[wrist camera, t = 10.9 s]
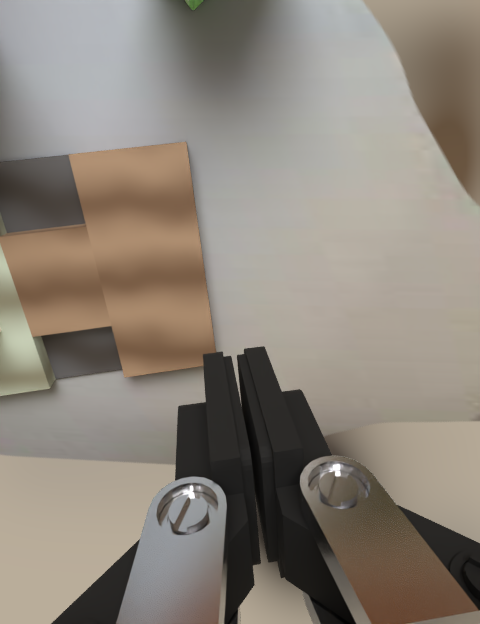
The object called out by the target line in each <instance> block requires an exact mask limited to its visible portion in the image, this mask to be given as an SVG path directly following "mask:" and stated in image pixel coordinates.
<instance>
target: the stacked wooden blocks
mask: <svg viewBox="0 0 480 624" xmlns="http://www.w3.org/2000/svg"><path fill="white" fill-rule="evenodd" d="M0 328H1V330H2V331H1V332H0V396H3V395H10V394H17V393H24V392H30V391H37V390H44V389H50V388H51V386H52V384H53V383H54V381H55V379H59V378H65V377H72V376H79V375H86V374H93V373H100V372H106V371H113V370H120V369H123V373H124V377H131V376H138V375H145V374H152V373H158V372H165V371H172V370H179V369H185V368H192V367H199V366H203V354H208V353H216V349H215V342H214V335H213V328H212V321H211V313H210V306H209V299H208V292H207V285H206V278H205V271H204V264H203V257H202V250H201V243H200V235H199V228H198V221H197V214H196V207H195V200H194V193H193V186H192V179H191V172H190V165H189V157H188V150H187V143H186V142H180V143H171V144H162V145H152V146H143V147H134V148H124V149H115V150H106V151H97V152H87V153H78V154H69V155H62V156H53V157H44V158H34V159H25V160H16V161H6V162H0Z"/></svg>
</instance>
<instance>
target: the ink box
mask: <svg viewBox="0 0 480 624" xmlns="http://www.w3.org/2000/svg"><path fill="white" fill-rule="evenodd" d="M203 1H204V0H185V2H186V3H187V4H188V6H189V7H190V8H191V9H192V10H195V9H196V8H197V7H198V6H199V5H200V4H201V3H202V2H203Z"/></svg>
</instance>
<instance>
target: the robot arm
mask: <svg viewBox="0 0 480 624" xmlns="http://www.w3.org/2000/svg"><path fill="white" fill-rule="evenodd" d="M237 361H238V372H239V383H240V393H241V402H240V397H239V392H238V387H237V382H236V378H235V373H234V368H233V363H232V358H231V356H226V357H223V352H216V353H208V354H203V366H204V381H205V395H206V402H204V403H197V404H190V405H182V406H179V407H178V424H177V449H176V475H175V481H174V482H171V483H170V484H168V485H167V486H165V487H164V488H163V489H161V491H159V492H158V494H157V495H156V496H155V497H154V498H153V500H152V503H151V505H150V507H149V510H148V513H147V517H146V520H145V524H144V527H143V531H142V534H141V538H140V539H139V540H138V541H137V542H136V543H135V544H134V545H133V546H132V547H131V548H130V549H129V550H128V551H127V552H126V553H125V554H124V555H123V556H122V557H121V558H120V559H119V560H117V561H116V562H115V563H114V564H113V565H112V566H111V567H110V568H109V569H108V570H107V571H106V572H105V573H104V574H103V575H102V576H101V577H100V578H99V579H98V580H97V581H95V582H94V583H93V584H92V585H91V587H89V588H88V589H87V590H86V591H85V592H84V593H83V594H82V595H81V596H80V597H79V598H78V599H77V600H76V601H74V602H73V603H72V605H70V606H69V607H68V608H67V609H66V610H65V611H64V612H63V613H62V614H61V615H60V616H59V617H58V618H57V619H56V620H55V621H54V622H53V623H52V624H240V621H241V620H240V619H241V616H240V607H239V606H240V604H241V603H242V602H243V600H244V599H245V598H246V596H247V595H248V593H249V592H250V590H251V589H252V588H253V586H254V575H253V565H257V564H260V563H261V560H260V549H259V538H258V526H257V514H256V502H257V507H258V512H259V517H260V522H261V528H262V533H263V538H264V543H265V548H266V554H267V559H268V562H274V561H277V562H278V567H279V571H280V576H281V578H283V577H285V578H286V580H287V581H289V582H291V583H292V584H293V585H295V586H296V587H298V588H299V589H301V590H302V591H303V597H304V601H305V604H306V607H307V610H308V612H309V615H310V617H311V619H312V622H313V624H480V543H478V542H476V541H474V540H471V539H469V538H467V537H465V536H463V535H461V534H459V533H456V532H454V531H452V530H450V529H448V528H446V527H444V526H441V525H439V524H437V523H435V522H433V521H431V520H429V519H426V518H424V517H422V516H420V515H418V514H416V513H414V512H411V511H409V510H407V509H405V508H403V507H401V506H398V505H396V503H395V502H394V501H393V499H392V498H391V497H390V495H389V494H388V493H387V492H386V491H385V489H384V488H383V486H382V485H381V484H380V483H379V481H378V480H377V479H376V477H375V476H374V475H373V474H372V473H371V472H370V471H369V470H368V469H367V468H366V467H365V466H364V465H362V464H361V463H359V462H357V461H355V460H353V459H349V458H346V457H342V456H332V454H331V452H330V450H329V448H328V446H327V443H326V441H325V439H324V437H323V435H322V433H321V431H320V428H319V426H318V424H317V422H316V420H315V418H314V415H313V413H312V411H311V409H310V407H309V405H308V403H307V400H306V398H305V396H304V394H303V392H302V391H301V390H300V389H299V390H292V391H285V392H282V391H281V389H280V386H279V384H278V381H277V378H276V376H275V373H274V370H273V368H272V365H271V363H270V360H269V357H268V355H267V352H266V349H265V347H264V346H263V347H255V348H247V349H244V354H242V355H237ZM241 404H242V407H241ZM255 496H256V502H255Z"/></svg>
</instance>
